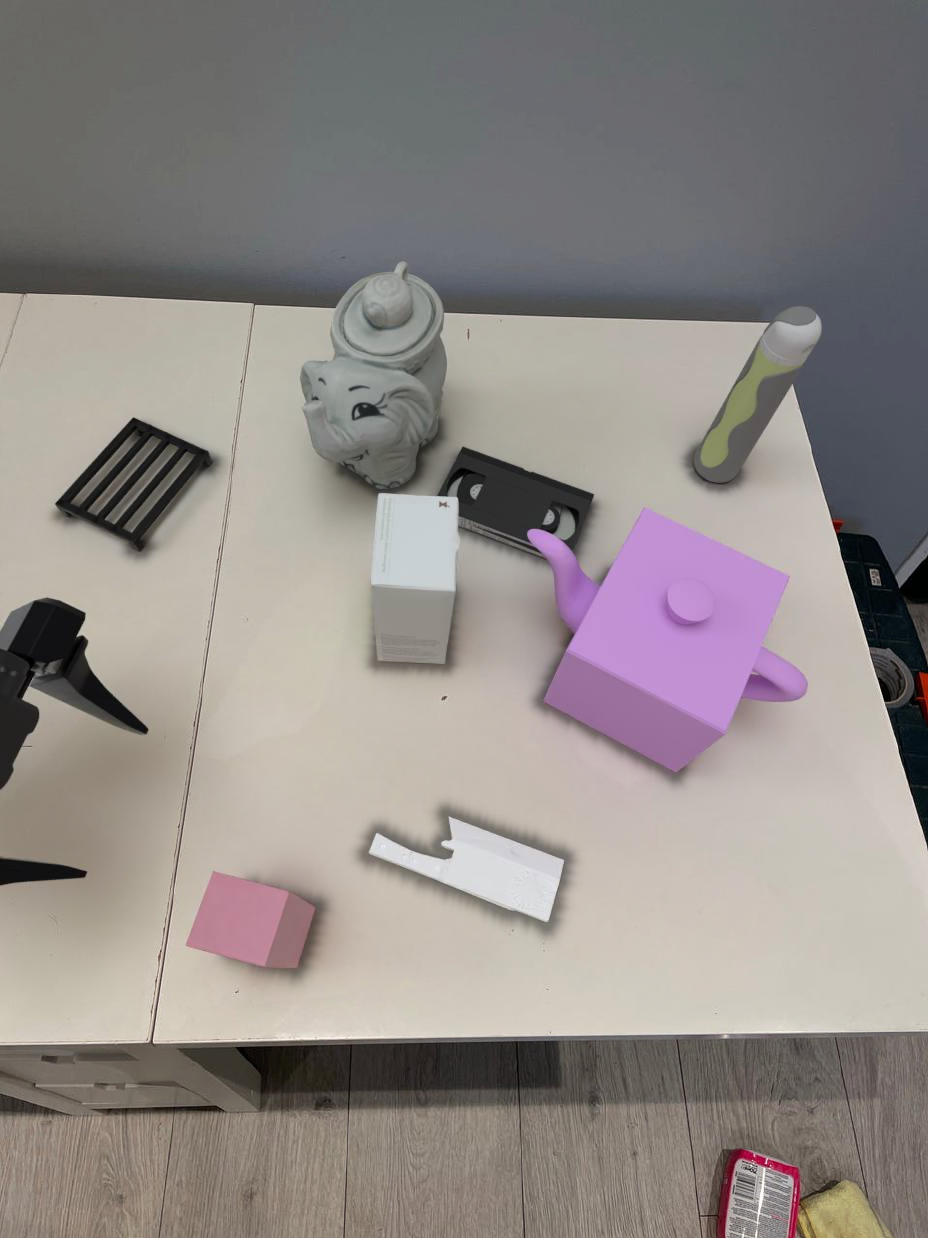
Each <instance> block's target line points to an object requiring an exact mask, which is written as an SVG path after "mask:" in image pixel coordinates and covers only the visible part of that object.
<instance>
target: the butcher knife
mask: <svg viewBox="0 0 928 1238" xmlns="http://www.w3.org/2000/svg"><path fill="white" fill-rule="evenodd" d="M448 824H449V829H450V836H451V839H450V840H448V839H445V840H443V841H441V843H440V846H441V847H442V848H444V849H447V850H449V851H452V852H453V853H452V855H451V857H449V858H445V859H443V858H439V857H436V856H431V855H428V854H427V855H426V854H424V853H420V852H417V851H414V850H411V849H410V848H407V847H405V846H403V845H401V844H399V843H397V842H395V841H393V840H392V839H390V838H388V837H386V836H385V835H382V834H381V833H379V832H376V834H375V835H374V838H373V840H372V843H371V846H370V848H369V850H368V855H371V856H372V857H373V856H374V857H376V858H378V859H380V860H381V859H382V860H384V861H386V862H388V863H391V864H394V865H397V866H399V867H402V868H405V869H407V870H410V871H412V872H415V873H417V874H420V875H423V876H424V877H428V878H430V879H433V880H436V881H438V882H440V883H442V884H445V885H447V886H450V887H452V888H455V889H457V890H460V891H461V892H463V893H464V892H465V893H468V894H469V895H472V896H474V897H476V898H479V899H481V900H483V901H486V902H489V903H492V904H494V905H496V906H499V907H500V908H504V909H506V910H509V911H512V912H514V911H516V912H519V913H520V914H524V915H525V916H529V917H531V918H534V919H537V920H539V921H542V922H544V923H548V922H549V919H550V916H551V913H552V910H553V906H554V904H555V899H556V895H557V891H558V888H559V885H560V881H561V877H562V872H563V868H564V863H565V859H562V858H560V857H557V856H554V855H552V854H549V853H547V852H544V851H541V850H539V849H536V848H534V847H531V846H528V845H526V844H523V843H520V842H518V841H516V840H515V841H514V840H512V839H509V838H507V837H504V836H501V835H499V834H497V833H494V832H492V831H488V830H485V829H483V828H480V827H477V826H476V825H472V824H470V823H467V822H464V821H462V820H459V819H457V818H454V817H451V816H448Z"/></svg>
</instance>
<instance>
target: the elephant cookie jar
mask: <svg viewBox="0 0 928 1238" xmlns="http://www.w3.org/2000/svg"><path fill="white" fill-rule="evenodd" d="M409 271H410V267H409V264H408V263H407V262H406V261H405V260H404V261H400V262H398V263H397V265H396V266H395V269H394V271H383V272H379V273H374V274H371V275H368V276H366V277H363V278H361V279H359V280H358V281H357V282H355V283H354V284H353V285H351V286H350V287H349V288H348V290H347V291H346V292H345V293H344V295H343V296H342V297H341V298H340V300H339V302H338V303H337V305H336V306H335V309H334V311H333V314H332V319H331V325H330V331H329V336H330V339H331V345H332V348H333V349H334V351H335V352H334V354H333V359H331V360H307V361H305V362H304V363H303V364H302V366H301V370H300V376H299V379H300V386H301V391H302V395H303V396H304V399H305V403H303V405H302V406H301V410H302V412H303V414H304V417H305V419H306V424H307V428H308V433H309V439H310V442H311V445H312V447H313V449H314V451H315V453H316V454H317V455H318V456H319V458H322V459H323V460H325V461H328V462H330V463H339V464H340V465H341V466H342V467H344V468H346V469H348V470H350V471H351V472H353V473H355V474H358V475H359V476H361V477H362V478H363V479H364V480H365V481H366V482H367V483H368V484H370V485H371V486H373V487H375V488H376V489H379V490H390V489H395V488H398V487H401V486H402V485H404V484H406V483H407V482H409V481H410V480H411V479H412V478H413V476H414V475H415V472H416V467H417V460H416V459H417V455H418V452H419V450H420V449H421V448H423V447H424V446H426V445H428V444H429V443H430V442H432V441H433V440H434V439H435V437H436V435H437V433H438V430H439V416H440V414H441V409H442V405H443V396H444V394H443V388H444V385H445V382H446V376H447V368H448V358H447V353H446V348H445V345H444V342H443V340H442V338H441V334H442V332H443V331H444V323H445V309H444V305H443V302H442V300H441V298H440V296H439V295H438V293H437V291H435V289H434V288H433V287H432V286H431V285H430V284H429V283H427V282H426V281H425V280H423V279H422V278H420V277H418V276H417V275H413V274H411V273H409Z"/></svg>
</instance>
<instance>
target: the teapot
mask: <svg viewBox="0 0 928 1238" xmlns="http://www.w3.org/2000/svg"><path fill="white" fill-rule="evenodd" d="M527 536H528V539H529V540H530V542H531V543H532V544H533V545H534V546H535V547H536V548H537V549H538V550H539V551H540V552H541V553H542V554H543V555H544V556H545V557H546V558H547V560H546V561H548V563H549V565H550V568H551V570H552V575H553V581H554V582H553V584H554V596H555V597H554V598H555V605H556V608H557V613H558V614H559V616H560V618H561V620H562V621H563V623H564V624H565V625H566V626H567V628H568V629H569V630H570V631H571V632H572V633H573V634H574V635H573V637H572V639H571V640H570V643H569V644H568V646H567V648H566V650H565V652H564V654H563V656H562V658H561V661H560V662H559V665H558V667H557V670H556V672H555V674H554V675H553V678H552V680H551V682H550V685H549V688H548V689H547V691H546V693H545V696H544V697H543V700H542V702H543V703H545V704H547V705H549V706H550V707H552V708H554V709H555V710H558V711H560V712H562V713H564V714H565V715H567V716H569V717H571V718H573V719H574V720H577V721H578V722H581V723H582V724H583V725H586V726H588V727H590V728H591V729H593V730H595V731H597V732H599V733H601V734H603V735H604V736H607V737H608V738H609V739H612V740H614V741H616V742H618V743H620V744H622V745H624V746H625V747H627V748H629V749H631V750H633V751H634V752H637V753H638V754H640V755H642V756H644V757H646V758H647V759H649V760H651V761H653V762H655V763H656V764H658V765H660V766H662V767H664V768H666V769H668V770H670V771H671V772H673V773H675V774H676V773H678V772H679V771H680V770H682V769H683V768H684V767H685V766H687V765H688V764H690V762H692V761H693V760H694V759H695V758H697V757H698V756H700V755H701V754H702V753H703V752H705V751H706V750H707V749H709V748H710V747H711V746H713V745H714V744H715V743H716V742H718V741H719V740H720V739H722V738H723V737H724V736H725V735H726V734H727V732H728V730H729V727H730V725H731V722H732V719H733V717H734V715H735V712H736V710H737V708H738V705H739V703H740V701H741V699H746V700H751V701H752V700H753V701H760V702H765V703H766V702H768V703H790V702H795V701H798V700H800V699H802V698H803V697H804V696H805V695H806V694H807V692H808V687H809V682H808V680H807V678H806V676H805V674H804V673H803V672H802V671H801V670H800V669H799V668H798V667H796V666H795V665H794V664H793V663H792V662H790V661H788V660H787V659H785V658H783V657H782V656H780V655H779V654H777V653H775V652H773V651H772V650H770V649H768V648H766V647H764V646H763V645H764V642H765V639H766V636H767V634H768V631H769V629H770V627H771V624H772V622H773V619H774V618H775V614H776V612H777V610H778V607H779V605H780V603H781V600H782V597H783V595H784V593H785V590H786V588H787V586H788V583H789V580H790V578H791V576H790V575H789V574H787V573H784V572H782V571H780V570H778V569H776V568H774V567H771V566H769V565H768V564H766V563H763V562H761V561H759V560H757V559H755V558H753V557H751V556H749V555H748V554H745V553H743V552H741V551H739V550H737V549H735V548H732V547H730V546H728V545H726V544H724V543H722V542H720V541H718V540H716V539H714V538H711V537H709V536H707V535H705V534H703V533H700V532H698V531H696V530H695V529H692V528H690V527H689V526H686V525H684V524H681V523H679V522H677V521H675V520H673V519H671V518H668V517H667V516H664V515H662V514H660V513H657V512H656V511H654V510H652V509H650V508H648V507H646V506H643V508H642V510H641V511H640V513H639V515H638V516H637V519H636V521H635V523H634V525H633V526H632V528H631V530H630V532H629V533H628V535H627V537H626V539H625V541H624V543H623V545H622V546H621V549H620V550H619V552H618V554H617V556H616V557H615V559H614V561H613V563H612V565H611V567H610V569H609V570H608V572H607V574H606V575H605V578H604V580H603V581H602V583H601V585H599V584H598V583H596V582H595V580H592V579H591V578H590V577H589V576H588V575H587V574H586V573H585V572H584V570H583V569H582V568H581V566H580V563H579V561H578V559H577V557H576V555H575V553H574V552H573V550H572V551H571V550H570V549H569V547H568V546H567V545H566V544H565V543H564V542H563V541H561V540H560V539H559V538H557V537H556V536H554V535H552V534H550V533H548V532H546V531H543V530H539V529H531V530H529V531H528V533H527ZM752 672H753V673H752ZM754 673H755V674H754Z"/></svg>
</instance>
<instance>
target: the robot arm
mask: <svg viewBox="0 0 928 1238" xmlns="http://www.w3.org/2000/svg"><path fill="white" fill-rule="evenodd" d="M86 615H87V613H86V612H85V611H83V610H81V609H79V608H77V607H75V606H73V605H70V604H68V603H66V602H64V601H62V600H61V599H56V598H51V597H48V596H47V597H42V598H38V599H35V600H32V601H30V602H28V603H26V604H24V605H22V606H19V607H18V608H16V609H14V610H11V611H10V612H9V614H8V616H7V618H6V619H5V622H4V623H3V625H2V627H1V629H0V791H1V790H2V789H4V787H5V786H6V785H7V784H8V782H9V780H11V777H12V775H13V773H14V771H15V769H14V763H15V762H16V759H17V757H18V755H19V753H20V751H21V749H22V747H23V745H24V743H25V741H26V739H27V737H28V736H29V735H30V734H32V733H34V732H35V729H36V728H37V725H38V723H39V721H40V713H41V712H40V709H39V707H38V706H37V705H34V704H33V703H30V702H28V701H26V700H24V699H23V698H24V696H25V694H26V692H27V691H28V689H29V687H30V688H32V689H35V690H37V691H39V692H40V693H43V694H45V695H48V696H49V697H51V698H54V699H55V700H57V701H60V702H62V703H65V704H66V705H69V706H71V707H73V708H75V709H77V710H79V711H81V712H83V713H86V714H87V715H89V716H92V717H93V718H96V719H97V720H100V721H102V722H105V723H107V724H109V725H111V726H113V727H116V728H117V729H121V730H123V731H126V732H130V733H132V734H136V735H138V736H147V735H148V733H149V731H150V728H149V727H148V726H147V725H146V724H144V722H143V721H141V719H140V718H138V717H137V716H136V715H135V714H134V713H133V712H132V711H131V710H130V709H129V708H128V707H127V706H125V705H124V704H123V703H122V702H121V701H120V700H119V699H118V698H117V697H116V695H115V696H114V694H113V693H112V692H111V691H110V690H108V688H107V687H106V686H105V685H104V684H103V682H101V680H100V679H99V678H98V677H97V676H96V674H95V673H94V672H93V670H92V668H91V667H90V664H89V661H88V659H87V657H86V649H87V648H88V645H89V640H88V639H87V638H86V636H85V635H83V634H80V635H79V633H80V631H81V629H82V627H83V625H84V623H85V621H86ZM87 874H88V871H87V870H85V869H81V868H77V867H74V866H70V865H67V864H60V863H55V862H48V861H42V860H41V861H40V860H33V859H25V858H17V857H9V856H0V887H1V886H5V885H10V884H19V883H33V882H46V881H62V880H73V879H74V880H76V879H84V878H86V877H87Z"/></svg>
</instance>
